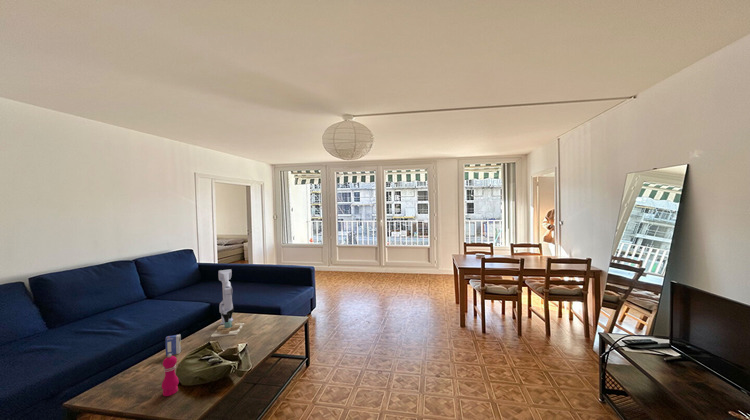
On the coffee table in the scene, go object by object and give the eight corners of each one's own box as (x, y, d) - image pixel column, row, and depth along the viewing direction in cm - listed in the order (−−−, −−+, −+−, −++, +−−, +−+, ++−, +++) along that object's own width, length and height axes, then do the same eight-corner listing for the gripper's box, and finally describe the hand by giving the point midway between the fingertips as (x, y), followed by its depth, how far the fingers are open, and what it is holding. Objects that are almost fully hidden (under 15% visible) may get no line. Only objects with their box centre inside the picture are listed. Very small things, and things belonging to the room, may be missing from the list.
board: (220, 326, 226) (220, 322, 226) (244, 324, 230) (244, 320, 230) (210, 337, 207) (210, 333, 207) (236, 334, 210) (236, 330, 210)
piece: (226, 328, 220) (226, 320, 220) (231, 327, 220) (231, 320, 220) (224, 330, 216) (224, 322, 216) (230, 330, 216) (229, 322, 216)
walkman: (165, 355, 181) (165, 337, 181) (167, 353, 183) (166, 335, 183) (179, 353, 183) (179, 335, 183) (181, 351, 186) (180, 333, 186)
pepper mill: (176, 386, 149) (175, 349, 149) (180, 391, 144) (180, 353, 144) (159, 393, 143) (159, 354, 143) (163, 399, 138) (163, 359, 138)
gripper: (225, 300, 225) (226, 317, 225) (218, 306, 210) (219, 324, 210) (235, 299, 226) (235, 316, 226) (228, 305, 211) (229, 323, 212)
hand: (228, 320), depth 218 cm, fingers open, 7 cm apart
